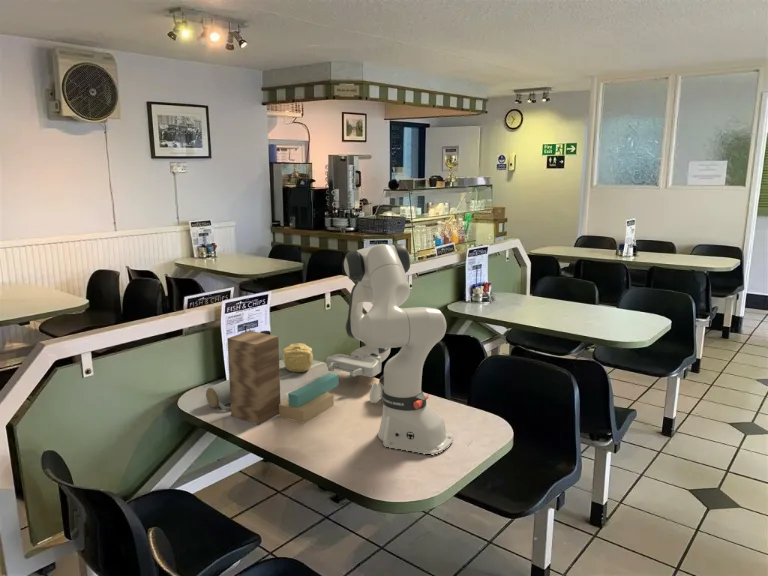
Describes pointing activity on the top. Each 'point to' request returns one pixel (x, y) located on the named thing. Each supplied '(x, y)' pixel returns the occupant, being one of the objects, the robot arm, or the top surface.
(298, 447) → the top surface
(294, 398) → the teal carton
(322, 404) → the kraft parcel
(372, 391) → the spread jar
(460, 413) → the top surface
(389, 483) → the top surface
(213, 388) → the ceramic mug
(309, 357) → the sculpture
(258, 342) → the walnut stand
